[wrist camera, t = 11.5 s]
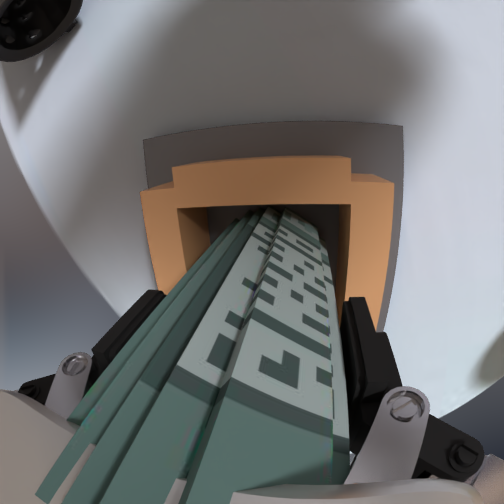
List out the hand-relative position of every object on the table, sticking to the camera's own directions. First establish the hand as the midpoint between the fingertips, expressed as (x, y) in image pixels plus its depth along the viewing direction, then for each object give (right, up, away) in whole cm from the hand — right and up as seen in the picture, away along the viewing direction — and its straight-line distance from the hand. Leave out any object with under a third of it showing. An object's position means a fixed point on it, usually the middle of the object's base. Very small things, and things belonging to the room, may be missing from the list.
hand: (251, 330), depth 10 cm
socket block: (+1, +3, +8) cm, 9 cm away
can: (+1, +3, +6) cm, 7 cm away
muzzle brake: (-24, +34, +1) cm, 42 cm away
